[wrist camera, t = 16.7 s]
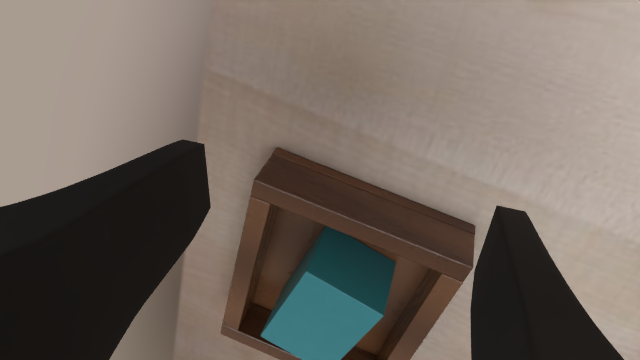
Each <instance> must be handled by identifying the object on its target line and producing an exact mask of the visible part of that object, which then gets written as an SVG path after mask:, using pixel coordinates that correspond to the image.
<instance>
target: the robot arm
mask: <svg viewBox="0 0 640 360" xmlns="http://www.w3.org/2000/svg"><path fill="white" fill-rule="evenodd" d="M209 209H210V197H209V187H208V177H207V167H206V157H205V147H204V144H202V143H197V142H191V141H187V140H180V141H177V142H174V143H172V144H169V145H166V146H164V147H161V148H159V149H157V150H155V151H152V152H150V153H147V154H145V155H143V156H141V157H138V158H136V159H134V160H131V161H129V162H127V163H125V164H122V165H120V166H118V167H115V168H113V169H111V170H108V171H106V172H104V173H101V174H98V175H96V176H93V177H91V178H88V179H85V180H83V181H80V182H78V183H75V184H73V185H70V186H68V187H65V188H62V189H59V190H56V191H53V192H50V193H47V194H45V195H42V196H38V197H35V198H31V199H28V200H25V201H22V202H18V203H15V204H11V205H7V206H3V207H0V360H109V359H110V357H111V356H112V354H113V352H114V350H115V349H116V347H117V345H118V344H119V342H120V340H121V339H122V337H123V335H124V334H125V332H126V330H127V329H128V327H129V326H130V324H131V322H132V321H133V319H134V317H135V316H136V315H137V313H138V312H139V310H140V309H141V307H142V306H143V305H144V303H145V302H146V301H147V299H148V298H149V296H150V295H151V294H152V293H153V291H154V290H155V289H156V287H157V286H158V285H159V283H160V282H161V281H162V280H163V278H164V277H165V276H166V274H167V273H168V272H169V270H170V269H171V268H172V267H173V265H174V264H175V263H176V261H177V260H178V259H179V257H180V256H181V255H182V253H183V252H184V251H185V249H186V248H187V247H188V245H189V244H190V242H191V241H192V240H193V238H194V237H195V235H196V233H197V231H198V230H199V228H200V226H201V224H202V223H203V221H204V219H205V217H206V215H207V213H208V211H209ZM471 357H472V360H624V359H623V358H622V357H621V355H620V354H619V353H618V352H617V351H616V349H615V348H614V347H613V346H612V345H611V343H610V342H609V341H608V340H607V339H606V337H605V336H604V335H603V334H602V332H601V331H600V330H599V329H598V327H597V326H596V325H595V323H594V322H593V321H592V319H591V318H590V317H589V315H588V314H587V312H586V311H585V309H584V308H583V307H582V305H581V304H580V302H579V301H578V299H577V298H576V296H575V295H574V293H573V292H572V290H571V289H570V287H569V286H568V284H567V283H566V281H565V279H564V278H563V276H562V275H561V273H560V271H559V270H558V268H557V267H556V265H555V263H554V262H553V260H552V258H551V256H550V255H549V253H548V251H547V249H546V248H545V246H544V244H543V242H542V241H541V239H540V237H539V235H538V233H537V231H536V230H535V228H534V226H533V224H532V222H531V220H530V218H529V217H528V215H527V213H526V212H525V211H520V210H515V209H511V208H506V207H501V206H496V209H495V212H494V215H493V218H492V221H491V224H490V227H489V230H488V233H487V236H486V239H485V242H484V245H483V248H482V250H481V253H480V256H479V259H478V262H477V265H476V268H475V273H474V282H473V290H472V300H471Z"/></svg>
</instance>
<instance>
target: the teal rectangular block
mask: <svg viewBox="0 0 640 360" xmlns="http://www.w3.org/2000/svg"><path fill="white" fill-rule="evenodd" d="M395 266H396V262H394V261H393V260H391V259H389V258H387V257H386V256H384V255H382V254H380V253H379V252H377V251H375V250H373V249H372V248H370V247H368V246H366V245H365V244H363V243H361V242H360V241H358V240H356V239H354V238H353V237H351V236H349V235H347V234H344V233H342V232H340V231H337V230H335V229H332V228H330V227H327V226H325V227H324V229H323V230H322V232H321V233H320V235H319V236H318V237H317V239H316V240H315V242H314V243H313V245H312V246H311V248H310V249H309V251H308V252H307V254H306V255H305V256H304V258H303V259H302V261H301V262H300V264H299V265H298V267H297V268H296V270H295V271H294V273H293V274H292V275H291V277H290V278H289V280H288V281H287V283H286V284H285V286H284V287H283V289H282V291H281V293H280V295H279V297H278V299H277V302H276V304H275V306H274V308H273V310H272V312H271V314H270V316H269V318H268V320H267V323H266V325H265V327H264V329H263V331H262V333H261V337H263V338H265V339H266V340H268V341H270V342H272V343H274V344H275V345H277V346H279V347H281V348H282V349H284V350H286V351H288V352H290V353H291V354H293V355H295V356H297V357H298V358H300V359H302V360H341V359H342V358H343V357H344V356H345V355H346V354H347V353H348V352H349V351H350V350H351V349H352V348H353V347H354V346H355V345H356V344H357V343H358V342H359V341H360V339H361V338H362V337H363V336H364V335H365V334H366V333H367V332H368V331H369V330H370V329H371V328H372V327H373V326H374V325H375V324H376V323H377V322H378V321H379V320H380V319H381V318H382V317H383V316H384V313H385V309H386V305H387V300H388V296H389V292H390V287H391V283H392V279H393V275H394V270H395Z"/></svg>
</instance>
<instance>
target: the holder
mask: <svg viewBox="0 0 640 360" xmlns="http://www.w3.org/2000/svg"><path fill="white" fill-rule="evenodd" d="M325 226H327V227H330V228H332V229H335V230H337V231H340V232H342V233H344V234H347V235H349V236H351V237H353V238H354V239H356V240H358V241H360V242H361V243H363V244H365V245H366V246H368V247H370V248H372V249H373V250H375V251H377V252H379V253H380V254H382V255H384V256H386V257H387V258H389V259H391V260H393V261H394V262H396V266H395V270H394V275H393V279H392V283H391V287H390V292H389V296H388V300H387V305H386V309H385V313H384V316H383V317H382V318H381V319H380V320H379V321H378V322H377V323H376V324H375V325H374V326H373V327H372V328H371V329H370V330H369V331H368V332H367V333H366V334H365V335H364V336H363V337H362V338H361V339H360V341H359V342H358V343H357V344H356V345H355V346H354V347H353V348H352V349H351V350H350V351H349V352H348V353H347V354H346V355H345V356H344V357H343V358H342V359H341V360H410V359H411V357H412V356H413V355H414V353H415V352H416V350H417V349H418V347H419V346H420V344H421V343H422V341H423V340H424V339H425V337H426V336H427V334H428V333H429V331H430V330H431V328H432V327H433V325H434V324H435V323H436V321H437V320H438V318H439V317H440V315H441V314H442V312H443V311H444V310H445V308H446V307H447V305H448V304H449V302H450V301H451V299H452V298H453V296H454V295H455V294H456V292H457V291H458V289H459V288H460V286H461V285H462V283H463V281H464V280H465V279H466V277H467V276H468V274H469V273H470V271H471V270H472V268H473V258H474V237H475V236H474V235H475V226H473V225H471V224H468V223H466V222H463V221H461V220H458V219H456V218H453V217H450V216H448V215H445V214H443V213H440V212H438V211H435V210H433V209H430V208H428V207H425V206H423V205H420V204H418V203H415V202H413V201H410V200H408V199H405V198H403V197H400V196H397V195H395V194H392V193H390V192H387V191H385V190H382V189H380V188H377V187H375V186H372V185H370V184H367V183H365V182H362V181H360V180H357V179H355V178H352V177H350V176H347V175H344V174H342V173H339V172H337V171H334V170H332V169H329V168H327V167H324V166H322V165H319V164H317V163H314V162H312V161H309V160H307V159H304V158H302V157H299V156H296V155H294V154H291V153H289V152H286V151H284V150H281V149H279V148H276V149H275V151H274V152H273V154H272V155H271V157H270V158H269V159H268V161H267V162H266V164H265V165H264V166H263V168H262V169H261V171H260V172H259V173H258V175H257V176H256V177H255V179H254V182H253V187H252V191H251V196H250V200H249V205H248V209H247V214H246V218H245V223H244V227H243V232H242V237H241V241H240V246H239V250H238V255H237V259H236V264H235V269H234V273H233V278H232V282H231V287H230V291H229V296H228V300H227V305H226V310H225V314H224V319H223V324H222V328H221V334H222V335H225V336H227V337H229V338H232V339H234V340H236V341H238V342H241V343H243V344H245V345H248V346H250V347H252V348H255V349H257V350H259V351H262V352H264V353H266V354H268V355H271V356H273V357H275V358H278V359H280V360H302V359H300V358H298V357H297V356H295V355H293V354H291V353H290V352H288V351H286V350H284V349H282V348H281V347H279V346H277V345H275V344H274V343H272V342H270V341H268V340H266V339H265V338H263V337H261V333H262V331H263V329H264V327H265V325H266V323H267V320H268V318H269V316H270V314H271V312H272V310H273V308H274V306H275V304H276V302H277V299H278V297H279V295H280V293H281V291H282V289H283V287H284V286H285V284H286V283H287V281H288V280H289V278H290V277H291V275H292V274H293V273H294V271H295V270H296V268H297V267H298V265H299V264H300V262H301V261H302V259H303V258H304V256H305V255H306V254H307V252H308V251H309V249H310V248H311V246H312V245H313V243H314V242H315V240H316V239H317V237H318V236H319V235H320V233H321V232H322V230H323V229H324V227H325Z"/></svg>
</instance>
